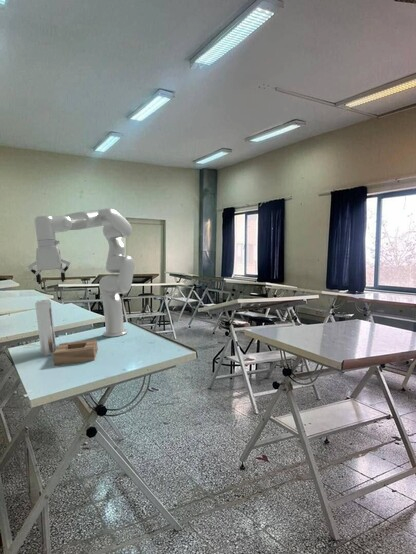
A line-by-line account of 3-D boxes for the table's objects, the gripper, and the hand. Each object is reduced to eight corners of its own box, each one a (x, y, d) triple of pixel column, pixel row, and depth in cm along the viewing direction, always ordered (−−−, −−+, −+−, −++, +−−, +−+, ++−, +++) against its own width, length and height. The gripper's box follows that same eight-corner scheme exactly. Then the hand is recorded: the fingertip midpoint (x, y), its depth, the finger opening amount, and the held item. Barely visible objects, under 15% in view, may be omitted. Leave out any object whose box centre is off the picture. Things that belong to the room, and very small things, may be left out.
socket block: (61, 354, 170) (60, 343, 170) (97, 349, 173) (96, 339, 173) (54, 365, 155) (52, 353, 154) (94, 360, 158) (93, 348, 157)
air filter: (53, 350, 177) (47, 298, 175) (59, 352, 173) (52, 299, 170) (39, 354, 173) (32, 300, 170) (44, 356, 168) (38, 301, 166)
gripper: (68, 242, 170) (72, 280, 172) (27, 245, 166) (32, 283, 168) (66, 242, 163) (71, 281, 165) (23, 245, 159) (28, 285, 161)
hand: (51, 282), depth 166 cm, fingers open, 9 cm apart
